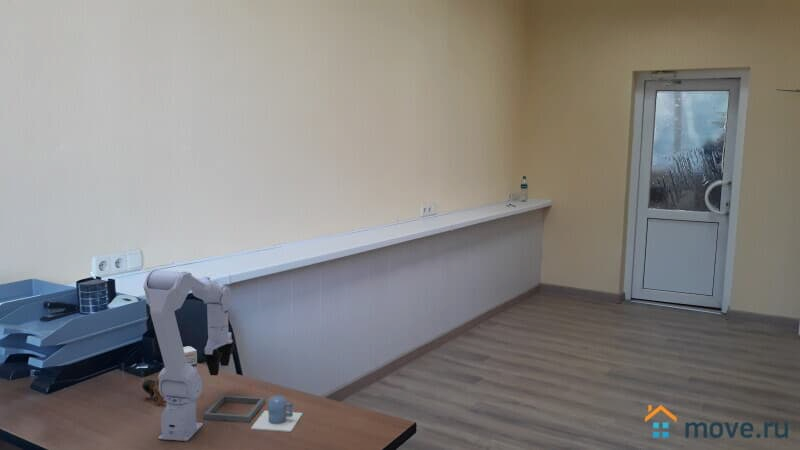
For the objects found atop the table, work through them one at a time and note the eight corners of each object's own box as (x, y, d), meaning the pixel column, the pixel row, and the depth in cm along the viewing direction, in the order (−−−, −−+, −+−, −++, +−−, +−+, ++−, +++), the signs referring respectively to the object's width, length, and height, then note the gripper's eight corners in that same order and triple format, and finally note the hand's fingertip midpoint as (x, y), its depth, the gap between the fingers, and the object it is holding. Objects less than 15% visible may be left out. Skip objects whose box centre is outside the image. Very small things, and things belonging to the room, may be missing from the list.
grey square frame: (249, 422, 172) (249, 417, 172) (203, 419, 173) (203, 414, 173) (265, 402, 185) (265, 397, 184) (222, 400, 186) (222, 395, 186)
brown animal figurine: (185, 392, 193) (188, 375, 188) (175, 417, 185) (177, 399, 180) (146, 384, 191) (147, 366, 187) (134, 409, 183) (135, 390, 179)
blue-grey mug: (266, 423, 170) (266, 401, 169) (271, 415, 175) (271, 395, 174) (290, 424, 170) (290, 403, 169) (294, 417, 174) (294, 396, 174)
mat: (291, 432, 166) (291, 430, 166) (250, 429, 168) (250, 427, 168) (302, 414, 177) (302, 412, 177) (264, 411, 178) (264, 410, 178)
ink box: (171, 392, 191) (170, 355, 190) (165, 388, 195) (163, 351, 193) (198, 385, 197) (197, 349, 195) (191, 380, 201) (190, 345, 199)
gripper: (221, 333, 175) (222, 380, 177) (240, 318, 189) (241, 362, 191) (197, 332, 176) (198, 378, 178) (218, 317, 190) (219, 360, 192)
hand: (219, 370), depth 184 cm, fingers open, 7 cm apart
